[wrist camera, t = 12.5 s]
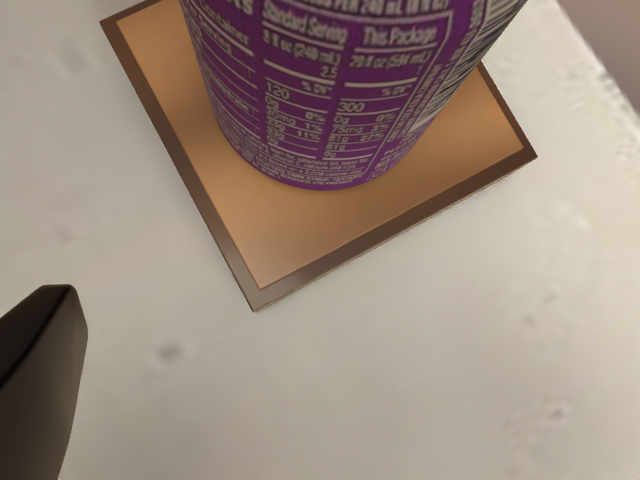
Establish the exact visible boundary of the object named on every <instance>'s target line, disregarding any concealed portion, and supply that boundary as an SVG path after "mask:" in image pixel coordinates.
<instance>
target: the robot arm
mask: <svg viewBox="0 0 640 480" xmlns="http://www.w3.org/2000/svg"><path fill="white" fill-rule="evenodd" d="M87 340H88V329H87V323H86V320H85V317H84V313H83V310H82V307H81V304H80V300H79V297H78V294H77V291H76V289H75V288H74V287H73V286H72V285H70V284H53V285H43V286H41V287H39V288H38V289H36V290H35V291H34V292H33V293H31V294H30V295H29V296H27V297H26V298H25V299H24V300H22V301H21V302H20V303H19V304H17V305H16V306H15V307H14V308H12V309H11V310H10V311H9V312H7V313H6V314H5V315H4V316H2V317H1V318H0V480H58V476H59V473H60V470H61V467H62V463H63V460H64V457H65V453H66V450H67V446H68V442H69V439H70V434H71V429H72V424H73V419H74V414H75V408H76V402H77V397H78V391H79V385H80V380H81V374H82V369H83V363H84V357H85V352H86V346H87Z"/></svg>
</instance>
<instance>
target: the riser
mask: <svg viewBox="0 0 640 480" xmlns="http://www.w3.org/2000/svg"><path fill="white" fill-rule="evenodd" d="M99 23H100V25H101V27H102V29H103V31H104V33H105V35H106V36H107V38H108V40H109V42H110V44H111V46H112V48H113V50H114V52H115V53H116V55H117V57H118V59H119V61H120V63H121V65H122V67H123V68H124V70H125V72H126V74H127V76H128V78H129V80H130V82H131V84H132V85H133V87H134V89H135V91H136V93H137V95H138V97H139V99H140V101H141V102H142V104H143V106H144V108H145V110H146V112H147V114H148V116H149V117H150V119H151V121H152V123H153V125H154V127H155V129H156V131H157V133H158V134H159V136H160V138H161V140H162V142H163V144H164V146H165V148H166V149H167V151H168V153H169V155H170V157H171V159H172V161H173V163H174V165H175V166H176V168H177V170H178V172H179V174H180V176H181V178H182V180H183V182H184V183H185V185H186V187H187V189H188V191H189V193H190V195H191V197H192V198H193V200H194V202H195V204H196V206H197V208H198V210H199V212H200V214H201V215H202V217H203V219H204V221H205V223H206V225H207V227H208V229H209V231H210V232H211V234H212V236H213V238H214V240H215V242H216V244H217V246H218V247H219V249H220V251H221V253H222V255H223V257H224V259H225V261H226V263H227V264H228V266H229V268H230V270H231V272H232V274H233V276H234V278H235V280H236V281H237V283H238V285H239V287H240V289H241V291H242V293H243V295H244V296H245V298H246V300H247V302H248V304H249V306H250V308H251V310H252V311H253V312H259V311H261V310H263V309H264V308H266V307H268V306H270V305H272V304H274V303H275V302H277V301H279V300H281V299H283V298H285V297H286V296H288V295H290V294H292V293H294V292H296V291H297V290H299V289H301V288H303V287H305V286H307V285H308V284H310V283H312V282H314V281H316V280H318V279H319V278H321V277H323V276H325V275H327V274H329V273H330V272H332V271H334V270H336V269H338V268H340V267H342V266H343V265H345V264H347V263H349V262H351V261H353V260H354V259H356V258H358V257H360V256H362V255H364V254H365V253H367V252H369V251H371V250H373V249H375V248H376V247H378V246H380V245H382V244H384V243H386V242H387V241H389V240H391V239H393V238H395V237H397V236H398V235H400V234H402V233H404V232H406V231H408V230H409V229H411V228H413V227H415V226H417V225H419V224H421V223H422V222H424V221H426V220H428V219H430V218H432V217H433V216H435V215H437V214H439V213H441V212H443V211H444V210H446V209H448V208H450V207H452V206H454V205H455V204H457V203H459V202H461V201H463V200H465V199H466V198H468V197H470V196H472V195H474V194H476V193H477V192H479V191H481V190H483V189H485V188H487V187H489V186H490V185H492V184H494V183H496V182H498V181H500V180H501V179H503V178H505V177H507V176H509V175H510V174H512V173H514V172H515V171H517V170H518V169H520V168H522V167H523V166H525V165H527V164H528V163H530V162H531V161H533V160H535V159H536V158H537V157H538V156H537V154H536V153H535V151H534V149H533V148H532V146H531V144H530V143H529V141H528V139H527V137H526V136H525V134H524V132H523V131H522V129H521V127H520V126H519V124H518V122H517V121H516V119H515V117H514V116H513V114H512V112H511V111H510V109H509V107H508V105H507V104H506V102H505V100H504V99H503V97H502V95H501V94H500V92H499V90H498V89H497V87H496V85H495V84H494V82H493V80H492V78H491V77H490V75H489V73H488V72H487V70H486V68H485V67H484V65H483V63H482V62H481V60H480V62H479V63H478V64H477V65H476V67H475V68H474V69H473V71H472V72H471V73H470V74H469V76H468V77H467V78H466V79H465V81H464V82H463V83H462V85H461V86H460V87H459V88H458V90H457V91H456V92H455V94H454V95H453V96H452V97H451V99H450V100H449V101H448V102H447V104H446V105H445V106H444V108H443V109H442V110H441V111H440V113H439V114H438V115H437V116H436V118H435V119H434V120H433V122H432V123H431V124H430V125H429V127H428V128H427V129H426V131H425V132H424V133H423V134H422V136H421V137H420V138H419V139H418V141H417V142H416V143H415V145H414V146H413V147H412V148H411V150H410V151H409V152H408V153H407V154H406V155H405V157H404V158H403V159H402V160H401V161H400V162H398V163H397V164H396V165H395V166H394V167H392V168H391V169H390V170H388V171H387V172H385V173H384V174H382V175H381V176H379V177H377V178H375V179H373V180H371V181H369V182H366V183H364V184H361V185H358V186H354V187H350V188H346V189H340V190H330V191H319V190H308V189H302V188H297V187H293V186H290V185H286V184H284V183H281V182H278V181H276V180H274V179H272V178H270V177H268V176H266V175H264V174H263V173H261V172H259V171H258V170H257V169H255V168H254V167H252V166H251V165H250V164H249V163H247V162H246V161H245V160H244V159H243V158H242V157H241V156H240V155H239V154H238V153H237V152H236V151H235V150H234V149H233V147H232V146H231V145H230V143H229V142H228V141H227V139H226V137H225V136H224V134H223V133H222V131H221V129H220V127H219V125H218V123H217V120H216V118H215V115H214V112H213V109H212V106H211V103H210V99H209V96H208V93H207V90H206V87H205V83H204V80H203V77H202V74H201V70H200V67H199V64H198V61H197V57H196V54H195V51H194V48H193V45H192V41H191V38H190V35H189V32H188V28H187V25H186V22H185V19H184V15H183V12H182V9H181V6H180V3H179V0H145V1H143V2H141V3H139V4H136V5H134V6H132V7H130V8H128V9H125V10H123V11H121V12H119V13H117V14H114V15H112V16H110V17H108V18H106V19H103V20H101V21H100V22H99Z"/></svg>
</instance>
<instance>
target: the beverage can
mask: <svg viewBox="0 0 640 480" xmlns="http://www.w3.org/2000/svg"><path fill="white" fill-rule="evenodd" d="M526 2H527V0H179V3H180V6H181V9H182V12H183V15H184V19H185V22H186V25H187V28H188V32H189V35H190V38H191V41H192V45H193V48H194V51H195V54H196V57H197V61H198V64H199V67H200V70H201V74H202V77H203V80H204V83H205V87H206V90H207V93H208V96H209V99H210V103H211V106H212V109H213V112H214V115H215V118H216V120H217V123H218V125H219V127H220V129H221V131H222V133H223V134H224V136H225V137H226V139H227V141H228V142H229V143H230V145H231V146H232V147H233V149H234V150H235V151H236V152H237V153H238V154H239V155H240V156H241V157H242V158H243V159H244V160H245V161H246V162H247V163H249V164H250V165H251V166H252V167H254V168H255V169H257V170H258V171H259V172H261V173H263V174H264V175H266V176H268V177H270V178H272V179H274V180H276V181H278V182H281V183H284V184H286V185H290V186H293V187H297V188H302V189H308V190H319V191H330V190H340V189H346V188H350V187H354V186H358V185H361V184H364V183H366V182H369V181H371V180H373V179H375V178H377V177H379V176H381V175H382V174H384V173H385V172H387V171H388V170H390V169H391V168H392V167H394V166H395V165H396V164H397V163H398V162H400V161H401V160H402V159H403V158H404V157H405V155H406V154H407V153H408V152H409V151H410V150H411V148H412V147H413V146H414V145H415V143H416V142H417V141H418V139H419V138H420V137H421V136H422V134H423V133H424V132H425V131H426V129H427V128H428V127H429V125H430V124H431V123H432V122H433V120H434V119H435V118H436V116H437V115H438V114H439V113H440V111H441V110H442V109H443V108H444V106H445V105H446V104H447V102H448V101H449V100H450V99H451V97H452V96H453V95H454V94H455V92H456V91H457V90H458V88H459V87H460V86H461V85H462V83H463V82H464V81H465V79H466V78H467V77H468V76H469V74H470V73H471V72H472V71H473V69H474V68H475V67H476V65H477V64H478V63H479V62H480V60H481V59H482V58H483V57H484V55H485V54H486V53H487V51H488V50H489V49H490V48H491V46H492V45H493V44H494V42H495V41H496V40H497V39H498V37H499V36H500V35H501V34H502V32H503V31H504V30H505V28H506V27H507V26H508V25H509V23H510V22H511V21H512V20H513V18H514V17H515V16H516V14H517V13H518V12H519V11H520V9H521V8H522V7H523V5H524V4H525V3H526Z"/></svg>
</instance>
